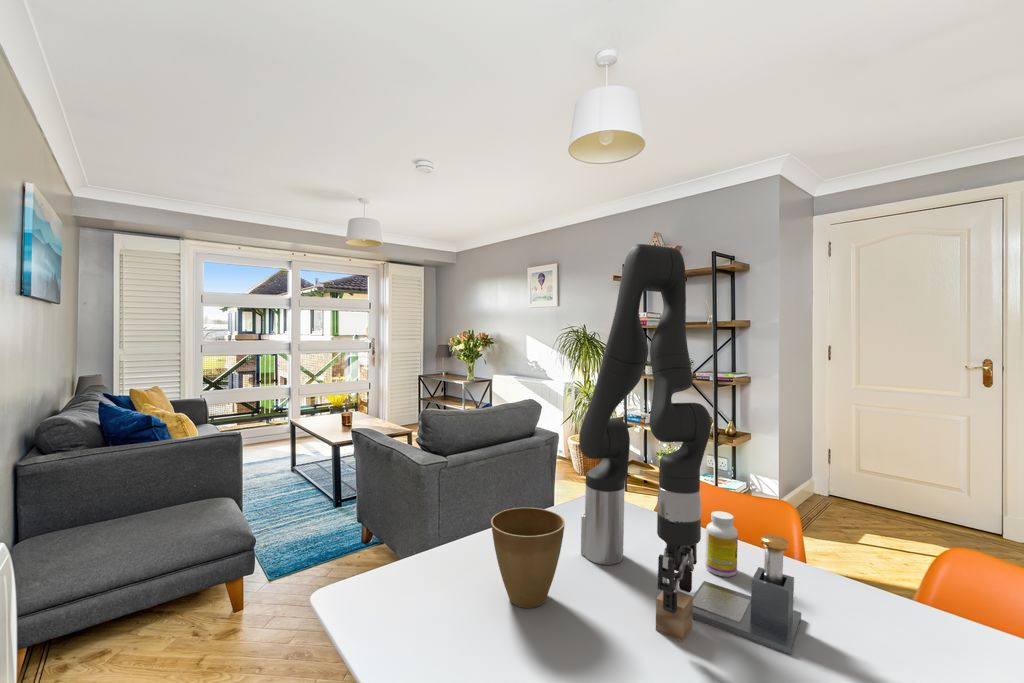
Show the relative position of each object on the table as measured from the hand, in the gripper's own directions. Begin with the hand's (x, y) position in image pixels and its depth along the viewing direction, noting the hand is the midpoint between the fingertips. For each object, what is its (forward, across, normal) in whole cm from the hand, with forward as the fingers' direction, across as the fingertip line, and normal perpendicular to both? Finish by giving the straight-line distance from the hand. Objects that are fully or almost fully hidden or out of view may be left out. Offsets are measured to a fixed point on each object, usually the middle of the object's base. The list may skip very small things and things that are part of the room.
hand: (677, 600), depth 88 cm
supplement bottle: (+6, -28, +1) cm, 29 cm away
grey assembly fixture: (+6, -12, +8) cm, 16 cm away
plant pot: (+5, +9, -28) cm, 30 cm away
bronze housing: (+6, 0, -1) cm, 6 cm away
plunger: (0, -12, +14) cm, 18 cm away
